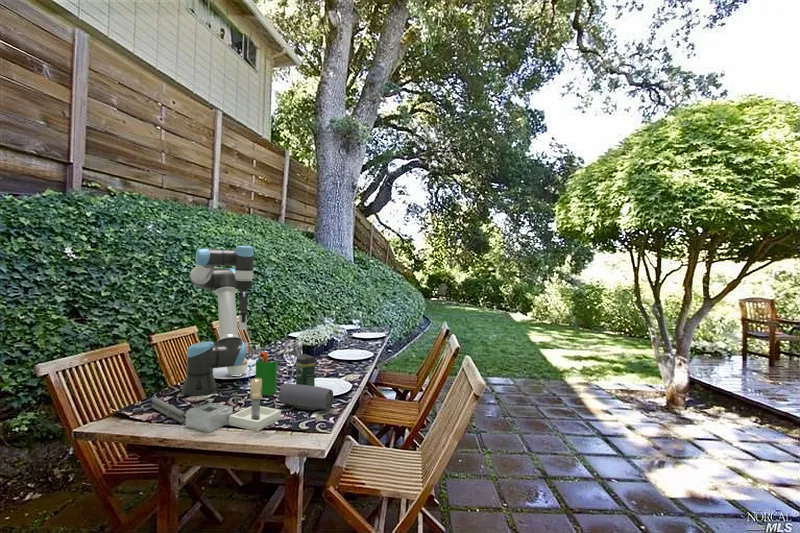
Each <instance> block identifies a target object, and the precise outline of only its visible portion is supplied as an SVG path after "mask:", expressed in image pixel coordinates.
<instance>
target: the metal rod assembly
mask: <svg viewBox="0 0 800 533" xmlns="http://www.w3.org/2000/svg"><path fill="white" fill-rule="evenodd" d="M151 402H152V404H151V408H152V409H154V410H156V411H158V412H159V413H161V414H163V415H165V416H166V417H167V418H169V417H170V419H173V420H175V421H177V422H178V423H181V424H183V423H185V422H186V417H185V416H186V411H184V410H181V409H179V408H178V407H176V406H175V405H174V404H169V403H167V401H166V402H165V401H164V400H162V399H160V398H158V397H156V396H154V397H152V398H151Z"/></svg>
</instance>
